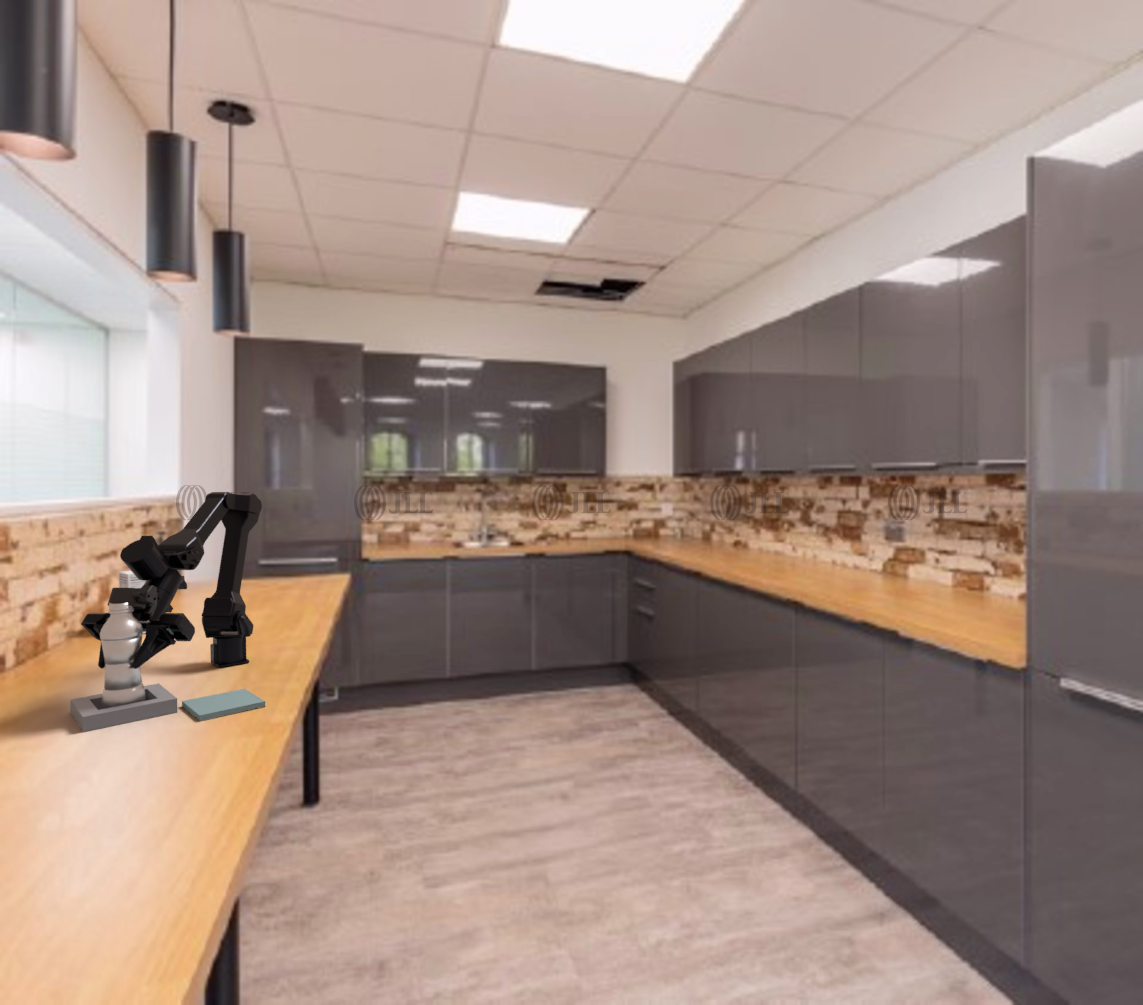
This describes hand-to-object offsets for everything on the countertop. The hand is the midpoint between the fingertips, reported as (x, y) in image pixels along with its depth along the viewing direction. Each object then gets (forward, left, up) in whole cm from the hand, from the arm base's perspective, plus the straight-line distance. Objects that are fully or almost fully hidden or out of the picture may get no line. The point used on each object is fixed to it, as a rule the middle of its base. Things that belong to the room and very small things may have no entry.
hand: (117, 667), depth 123 cm
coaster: (-15, +8, -9) cm, 19 cm away
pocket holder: (-1, -1, -9) cm, 9 cm away
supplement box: (-20, -78, -9) cm, 81 cm away
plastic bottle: (-1, -1, -9) cm, 9 cm away
